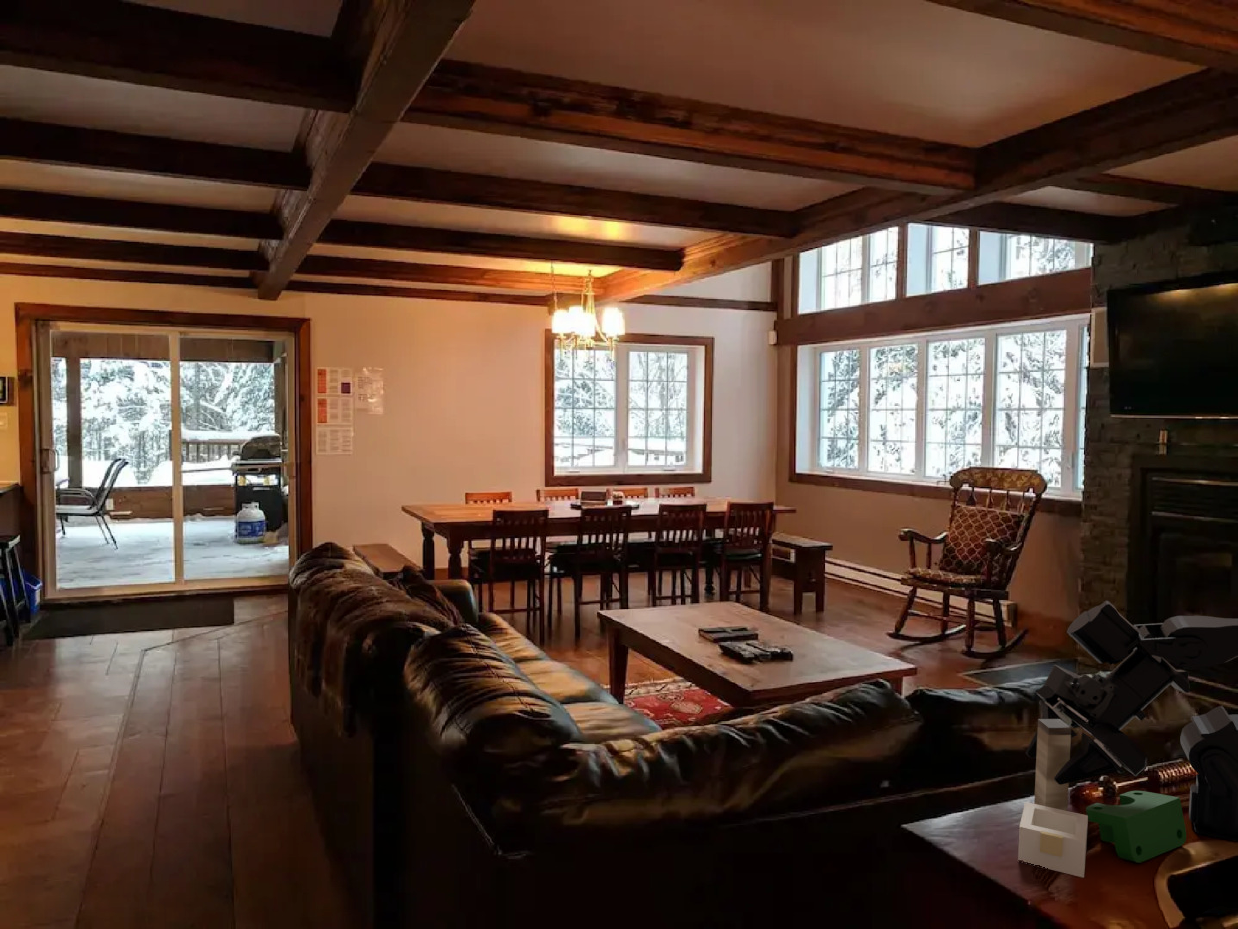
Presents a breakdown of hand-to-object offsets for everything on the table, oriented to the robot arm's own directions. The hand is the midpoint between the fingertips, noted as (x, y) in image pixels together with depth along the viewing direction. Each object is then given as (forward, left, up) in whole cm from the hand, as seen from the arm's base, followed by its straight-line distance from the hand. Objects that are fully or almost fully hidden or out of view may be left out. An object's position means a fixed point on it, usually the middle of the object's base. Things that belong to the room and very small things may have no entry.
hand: (1042, 768), depth 118 cm
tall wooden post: (-1, -1, -7) cm, 7 cm away
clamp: (-11, +2, -7) cm, 13 cm away
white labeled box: (-2, +10, -7) cm, 13 cm away
